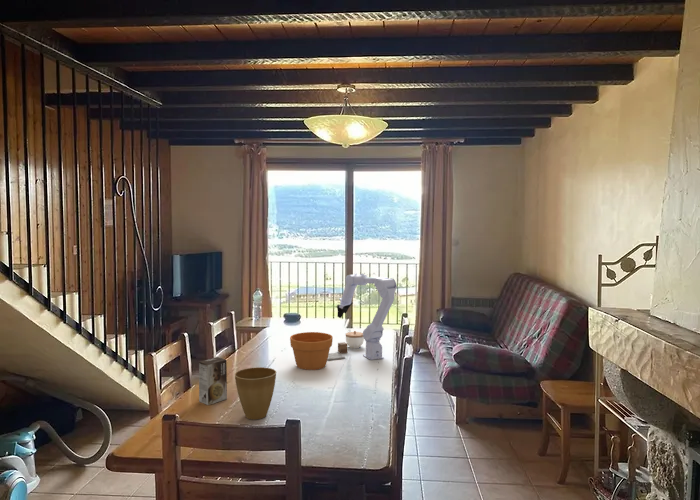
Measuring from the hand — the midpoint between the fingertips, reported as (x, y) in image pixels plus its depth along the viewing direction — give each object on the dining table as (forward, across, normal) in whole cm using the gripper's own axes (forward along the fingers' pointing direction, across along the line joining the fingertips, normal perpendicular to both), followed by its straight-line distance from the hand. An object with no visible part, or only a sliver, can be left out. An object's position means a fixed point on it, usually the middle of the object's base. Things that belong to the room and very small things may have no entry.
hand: (341, 314), depth 279 cm
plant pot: (-4, +107, +7) cm, 107 cm away
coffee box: (+6, +100, -15) cm, 101 cm away
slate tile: (+13, +24, +8) cm, 28 cm away
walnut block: (+15, +12, +10) cm, 21 cm away
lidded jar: (+17, -1, +13) cm, 21 cm away
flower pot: (+11, +42, +3) cm, 44 cm away
